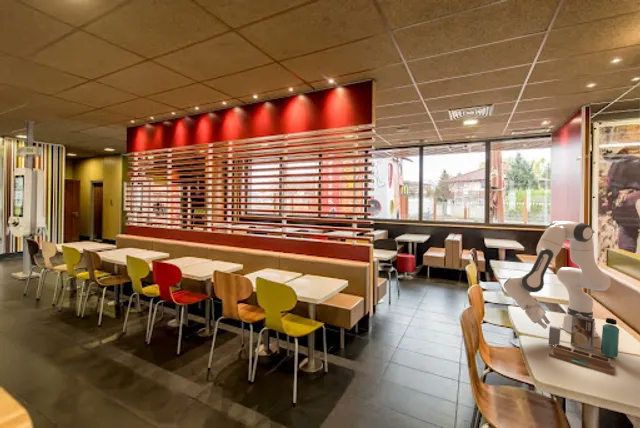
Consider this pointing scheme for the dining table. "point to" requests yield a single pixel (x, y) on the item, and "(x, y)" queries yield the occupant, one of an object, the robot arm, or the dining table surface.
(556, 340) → the panel
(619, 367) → the dining table surface
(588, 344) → the coffee box
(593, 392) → the dining table surface
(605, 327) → the beverage bottle
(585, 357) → the rack
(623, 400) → the dining table surface
